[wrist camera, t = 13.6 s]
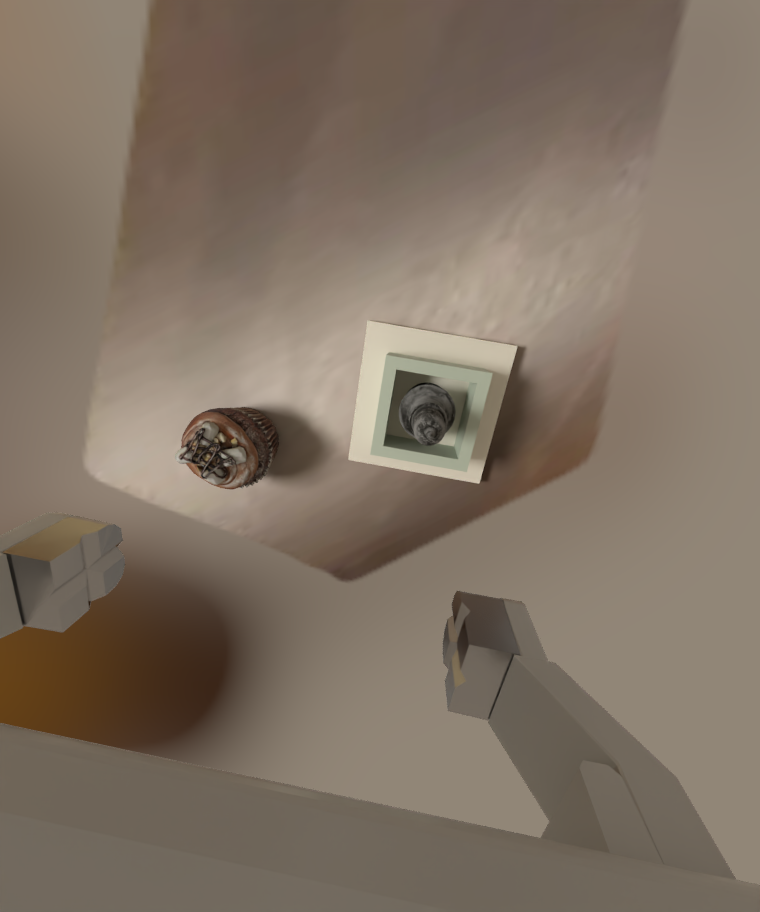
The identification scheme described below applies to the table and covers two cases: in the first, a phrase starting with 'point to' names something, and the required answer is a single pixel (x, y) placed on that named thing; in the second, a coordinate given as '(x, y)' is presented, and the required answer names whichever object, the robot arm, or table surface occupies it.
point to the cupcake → (229, 446)
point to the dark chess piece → (427, 413)
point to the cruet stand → (439, 362)
